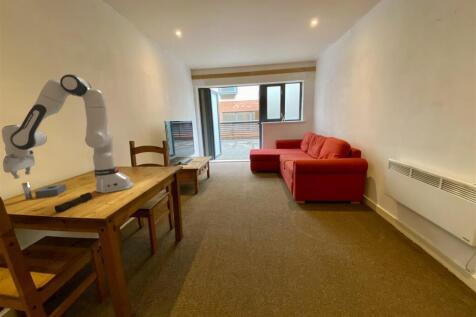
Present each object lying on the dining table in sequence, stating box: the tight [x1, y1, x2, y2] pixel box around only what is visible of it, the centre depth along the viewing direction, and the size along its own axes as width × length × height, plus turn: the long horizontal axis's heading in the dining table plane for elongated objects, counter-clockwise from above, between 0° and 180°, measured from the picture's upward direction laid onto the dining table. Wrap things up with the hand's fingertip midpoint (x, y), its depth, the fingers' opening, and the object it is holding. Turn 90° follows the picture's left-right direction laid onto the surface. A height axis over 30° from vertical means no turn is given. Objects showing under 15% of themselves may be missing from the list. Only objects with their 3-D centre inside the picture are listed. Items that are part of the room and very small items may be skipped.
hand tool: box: [54, 192, 93, 213], centre depth 111 cm, size 19×4×5 cm, turn 163°
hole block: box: [34, 183, 67, 199], centre depth 131 cm, size 11×11×4 cm
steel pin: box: [21, 181, 33, 201], centre depth 123 cm, size 3×3×10 cm
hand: (22, 176), depth 121 cm, fingers open, 8 cm apart
